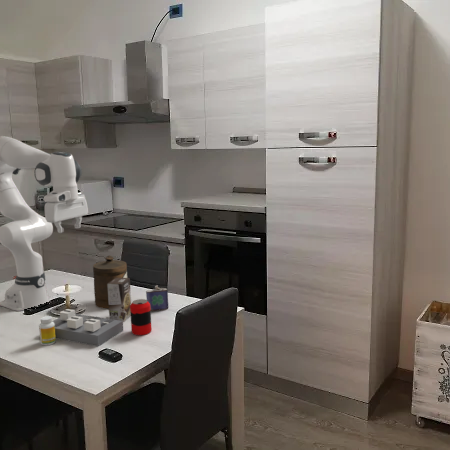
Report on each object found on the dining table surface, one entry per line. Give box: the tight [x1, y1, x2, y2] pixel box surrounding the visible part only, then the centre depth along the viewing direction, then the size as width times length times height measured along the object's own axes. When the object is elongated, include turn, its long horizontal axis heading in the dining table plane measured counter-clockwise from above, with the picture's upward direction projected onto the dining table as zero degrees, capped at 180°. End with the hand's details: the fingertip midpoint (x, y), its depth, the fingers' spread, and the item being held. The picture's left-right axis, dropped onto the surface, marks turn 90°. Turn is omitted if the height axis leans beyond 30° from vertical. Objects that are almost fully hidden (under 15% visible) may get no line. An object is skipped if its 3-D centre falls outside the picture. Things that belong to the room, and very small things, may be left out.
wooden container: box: [92, 255, 128, 310], centre depth 218 cm, size 15×15×22 cm
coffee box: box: [107, 277, 132, 323], centre depth 200 cm, size 9×6×16 cm
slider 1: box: [59, 308, 76, 321], centre depth 189 cm, size 4×4×3 cm
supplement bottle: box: [38, 315, 57, 346], centre depth 178 cm, size 5×5×10 cm
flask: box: [145, 284, 169, 312], centre depth 209 cm, size 9×3×11 cm, turn 104°
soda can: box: [130, 298, 152, 336], centre depth 186 cm, size 8×8×12 cm
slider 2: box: [67, 316, 83, 329], centre depth 181 cm, size 4×4×3 cm
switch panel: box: [52, 313, 124, 347], centre depth 187 cm, size 32×15×4 cm, turn 66°
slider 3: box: [84, 319, 101, 332], centre depth 178 cm, size 4×4×3 cm
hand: (69, 230), depth 188 cm, fingers open, 8 cm apart
